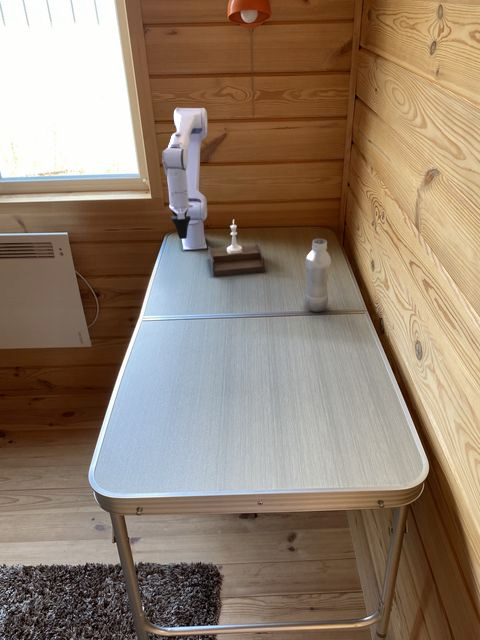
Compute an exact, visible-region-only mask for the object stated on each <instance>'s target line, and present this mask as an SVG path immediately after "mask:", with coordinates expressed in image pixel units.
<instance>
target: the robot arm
mask: <svg viewBox="0 0 480 640" xmlns="http://www.w3.org/2000/svg"><path fill="white" fill-rule="evenodd" d="M173 121H174V125H175V128H176V131H175V132H174V133H172V135H171V138H170V141H169V144H168V147H166V148H165V149H164V150H162V154H161V155H162V156H161V157H162V158H161V160H162V166H163V169H164V175H165V176H166V180H167V190H168V199H169V206H168V207H169V209H170V211H171V213H172V215H171V216H170V217H171V221H172V223H173V224H174V226H175V228H176V232H177V236H178V238H179V240H181V242H182V243H181V244H182V249H183V251H192V250H193V251H194V250H204V249H206V250H207V248H208V246H207V242H206V237H205V230H204V221H206V219H207V217H208V201H207V198H206V196H205V195H204V194H202V193H201V192H200V168H201V167H200V166H201V164H200V163H201V147H202V142H203V140H204V139H206V138H207V135H208V113H207V110H206V109H205V107H199V108H197V107H196V108H195V107H193V108H192V107H176V108H175V109H174V112H173Z"/></svg>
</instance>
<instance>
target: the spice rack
mask: <svg viewBox="0 0 480 640" xmlns="http://www.w3.org/2000/svg"><path fill="white" fill-rule="evenodd" d="M240 246H241V245H240ZM241 247H242V251H241V252H239V253H229V252H228V251H227V247H218V248H212V247H211V245H208V246H207V248H208V260H209V265H210V270H211V274H212V277H223V276H224V277H225V276H232V275H233V276H234V275H245V274H257V273H265V256H264V254H263V251H262V250H261V247H260V244H259V243H258V242H257V241H256V242H255V245H243V246H241Z"/></svg>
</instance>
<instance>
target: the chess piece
mask: <svg viewBox="0 0 480 640" xmlns="http://www.w3.org/2000/svg"><path fill="white" fill-rule="evenodd" d="M229 227H230V230H231V232H230V236H232V237H231V244H230V245H228V246H227V247H226V248H227V251H228V252H229V253H239V252H241V251H242V247H241V245H239V244H238V242H237V238H236V236H237V235H238V232H237V228H238V226H237V224H235V219H232V224H231V225H230V226H229Z"/></svg>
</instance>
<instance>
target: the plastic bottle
mask: <svg viewBox="0 0 480 640" xmlns="http://www.w3.org/2000/svg"><path fill="white" fill-rule="evenodd" d="M327 244H328V241H327V239H325V238H315V239H313V240H312V243H311V251H310V252H309V253H307V255H306V258H305V266H306V290H305V292H304V293H305V294H304V298H303V302H304V306H305V308H306V309H307V310H308V311H310V312H316V313H317V312H318V313H319V312H323V311H325V310H326V309H327V307H328V305H329V294H328V279H329V272H330V268H331V264H332V263H331V262H332V259H331V256H330V254H329V252H328V251H327V249H328V245H327Z"/></svg>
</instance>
